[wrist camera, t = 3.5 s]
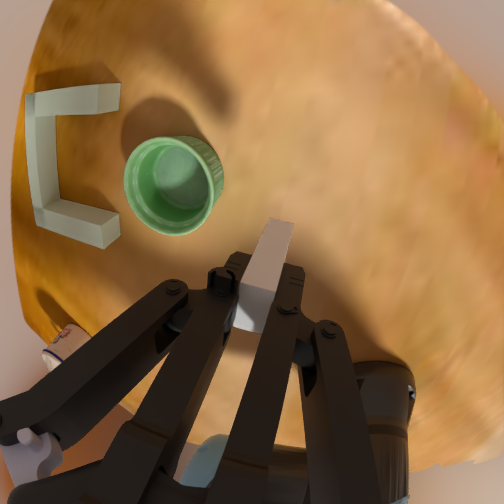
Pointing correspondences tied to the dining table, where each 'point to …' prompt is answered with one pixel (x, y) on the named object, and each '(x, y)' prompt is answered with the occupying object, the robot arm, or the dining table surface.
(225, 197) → the dining table surface
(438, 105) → the dining table surface
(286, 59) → the dining table surface
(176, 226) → the ramekin
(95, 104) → the holder
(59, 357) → the teacup with lid
